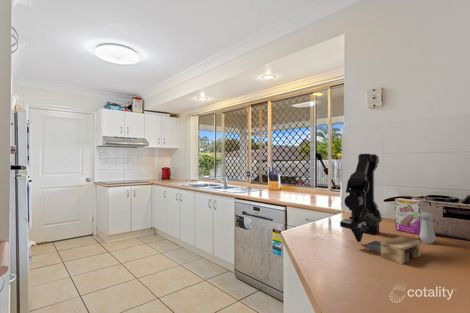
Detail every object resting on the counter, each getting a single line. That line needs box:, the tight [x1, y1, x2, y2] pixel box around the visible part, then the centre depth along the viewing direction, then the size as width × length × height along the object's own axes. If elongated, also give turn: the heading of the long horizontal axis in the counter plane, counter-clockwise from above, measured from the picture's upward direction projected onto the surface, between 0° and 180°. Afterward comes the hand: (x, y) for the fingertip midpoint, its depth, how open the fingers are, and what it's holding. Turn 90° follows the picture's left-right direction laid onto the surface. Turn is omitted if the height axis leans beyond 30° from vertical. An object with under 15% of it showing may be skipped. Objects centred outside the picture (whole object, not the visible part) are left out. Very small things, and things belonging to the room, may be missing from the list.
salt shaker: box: [418, 211, 437, 245], centre depth 109 cm, size 6×6×13 cm
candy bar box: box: [394, 197, 424, 236], centre depth 125 cm, size 11×5×16 cm, turn 34°
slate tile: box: [366, 240, 411, 258], centre depth 97 cm, size 14×7×2 cm, turn 33°
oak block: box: [380, 235, 421, 265], centre depth 92 cm, size 7×15×6 cm, turn 122°
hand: (359, 241), depth 106 cm, fingers closed
